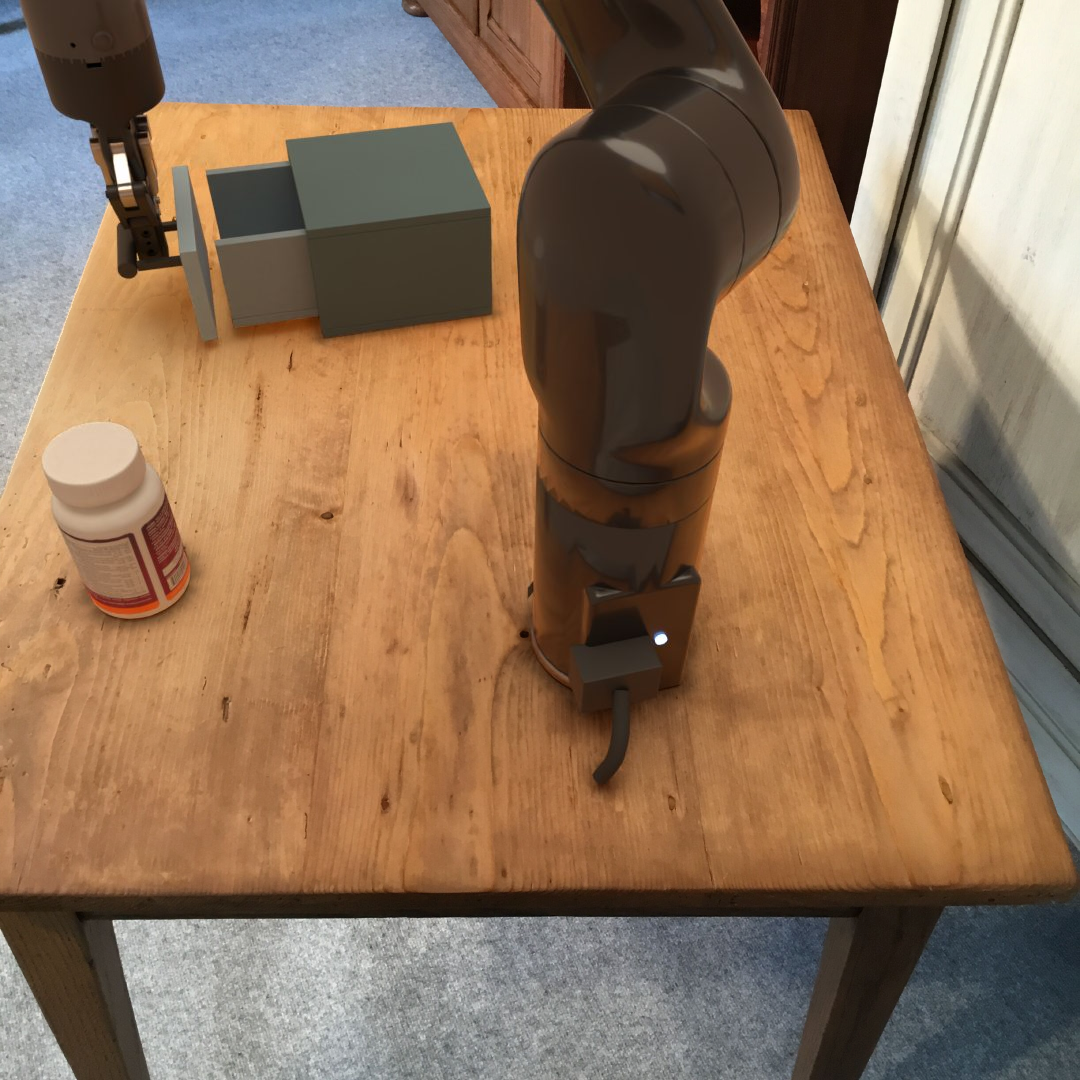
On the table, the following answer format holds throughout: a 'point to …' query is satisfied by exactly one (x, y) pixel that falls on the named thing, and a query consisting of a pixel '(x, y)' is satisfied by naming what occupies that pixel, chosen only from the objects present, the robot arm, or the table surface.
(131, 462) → the pill bottle
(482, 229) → the cabinet
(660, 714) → the table surface
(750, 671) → the table surface
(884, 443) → the table surface
